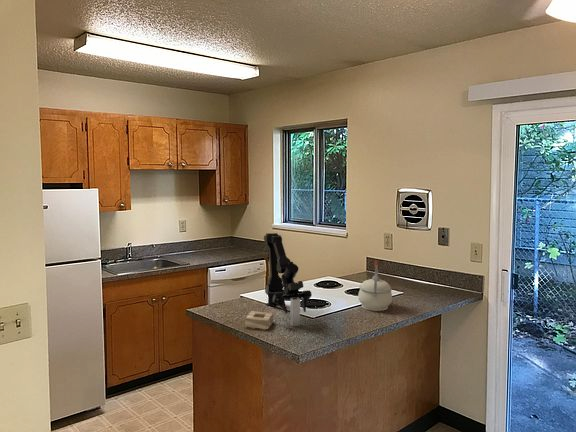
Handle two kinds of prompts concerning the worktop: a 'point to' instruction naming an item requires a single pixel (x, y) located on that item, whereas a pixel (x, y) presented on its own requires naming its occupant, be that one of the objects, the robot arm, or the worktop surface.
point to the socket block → (259, 320)
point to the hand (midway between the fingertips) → (296, 312)
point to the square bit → (295, 311)
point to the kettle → (375, 292)
